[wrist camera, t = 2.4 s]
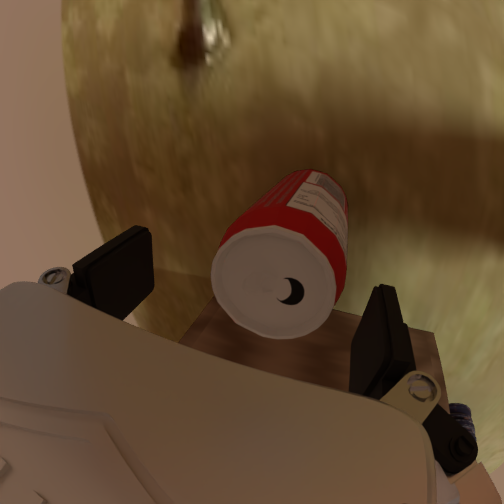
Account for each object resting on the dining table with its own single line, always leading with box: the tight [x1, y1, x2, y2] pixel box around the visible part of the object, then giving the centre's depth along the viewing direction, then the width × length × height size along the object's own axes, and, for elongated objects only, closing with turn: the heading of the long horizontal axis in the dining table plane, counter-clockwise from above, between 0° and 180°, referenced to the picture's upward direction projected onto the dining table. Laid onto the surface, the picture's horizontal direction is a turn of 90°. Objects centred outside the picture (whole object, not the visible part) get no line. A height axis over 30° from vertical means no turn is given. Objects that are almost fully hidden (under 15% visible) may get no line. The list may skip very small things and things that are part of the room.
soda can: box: [211, 169, 348, 339], centre depth 16 cm, size 6×6×12 cm
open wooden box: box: [179, 296, 450, 414], centre depth 24 cm, size 20×17×10 cm
